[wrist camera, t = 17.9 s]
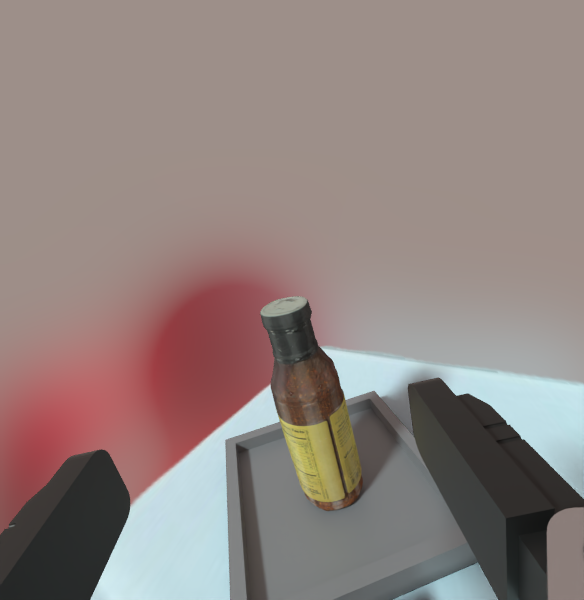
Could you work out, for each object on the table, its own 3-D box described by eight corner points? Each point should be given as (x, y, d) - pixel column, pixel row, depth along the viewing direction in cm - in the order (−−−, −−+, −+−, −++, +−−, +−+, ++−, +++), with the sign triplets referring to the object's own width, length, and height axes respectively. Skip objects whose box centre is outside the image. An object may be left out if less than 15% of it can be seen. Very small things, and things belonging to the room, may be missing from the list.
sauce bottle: (343, 452, 36) (308, 284, 30) (377, 494, 31) (343, 297, 25) (290, 480, 34) (241, 305, 28) (316, 530, 29) (262, 326, 23)
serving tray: (376, 406, 44) (374, 390, 43) (496, 554, 25) (495, 530, 24) (230, 455, 41) (225, 440, 40) (241, 665, 22) (231, 642, 21)
